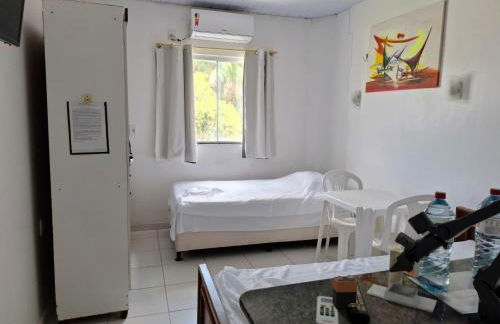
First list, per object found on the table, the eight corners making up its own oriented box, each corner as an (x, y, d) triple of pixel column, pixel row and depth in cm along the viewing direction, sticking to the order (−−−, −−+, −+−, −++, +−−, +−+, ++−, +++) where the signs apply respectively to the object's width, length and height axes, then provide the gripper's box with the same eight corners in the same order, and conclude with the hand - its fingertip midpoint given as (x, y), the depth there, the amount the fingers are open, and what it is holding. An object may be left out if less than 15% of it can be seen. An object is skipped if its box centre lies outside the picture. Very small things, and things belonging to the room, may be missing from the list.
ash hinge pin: (402, 285, 133) (404, 249, 131) (399, 289, 129) (401, 252, 128) (390, 282, 135) (393, 247, 134) (388, 286, 132) (390, 250, 130)
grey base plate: (436, 302, 120) (437, 293, 120) (432, 313, 113) (432, 304, 113) (373, 285, 132) (374, 277, 132) (366, 294, 125) (366, 286, 125)
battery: (356, 308, 115) (357, 278, 114) (336, 309, 114) (337, 279, 114) (351, 301, 119) (352, 273, 118) (331, 302, 119) (333, 273, 118)
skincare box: (402, 272, 145) (404, 244, 144) (410, 270, 147) (411, 242, 146) (415, 278, 140) (417, 248, 139) (422, 276, 142) (424, 247, 141)
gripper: (415, 221, 135) (384, 244, 143) (404, 232, 120) (370, 257, 128) (437, 246, 132) (403, 267, 139) (428, 260, 116) (391, 283, 124)
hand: (392, 268), depth 132 cm, fingers open, 7 cm apart
